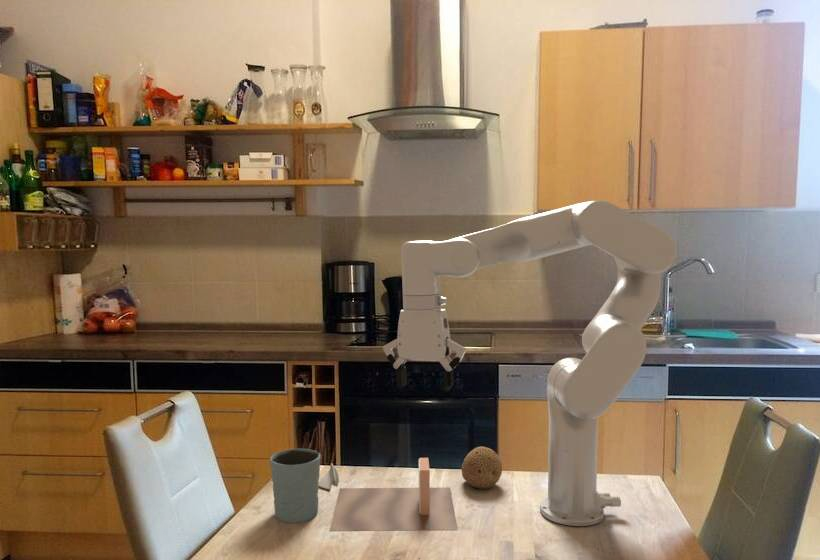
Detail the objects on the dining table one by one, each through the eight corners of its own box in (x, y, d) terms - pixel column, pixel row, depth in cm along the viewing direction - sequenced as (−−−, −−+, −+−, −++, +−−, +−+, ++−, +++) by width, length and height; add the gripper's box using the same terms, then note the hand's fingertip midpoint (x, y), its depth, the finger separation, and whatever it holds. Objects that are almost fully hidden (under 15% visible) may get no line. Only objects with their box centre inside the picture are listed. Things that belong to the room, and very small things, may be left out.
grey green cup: (278, 528, 124) (277, 468, 123) (265, 509, 133) (264, 452, 132) (328, 518, 128) (327, 459, 127) (312, 499, 137) (311, 444, 136)
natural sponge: (502, 501, 136) (502, 455, 135) (460, 499, 137) (460, 454, 136) (501, 484, 145) (501, 441, 144) (461, 483, 146) (462, 440, 145)
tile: (428, 500, 133) (428, 457, 132) (429, 514, 126) (429, 470, 125) (418, 500, 133) (418, 457, 132) (419, 514, 126) (419, 470, 125)
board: (450, 494, 140) (450, 487, 140) (457, 537, 120) (457, 529, 120) (340, 494, 139) (339, 488, 139) (329, 538, 119) (329, 530, 119)
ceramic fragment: (340, 496, 140) (340, 479, 139) (317, 498, 139) (316, 480, 138) (335, 473, 153) (335, 458, 153) (314, 475, 152) (314, 459, 152)
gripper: (469, 301, 127) (471, 386, 128) (389, 300, 133) (392, 381, 134) (458, 305, 120) (460, 395, 121) (374, 305, 126) (377, 390, 127)
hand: (424, 388), depth 128 cm, fingers open, 9 cm apart
